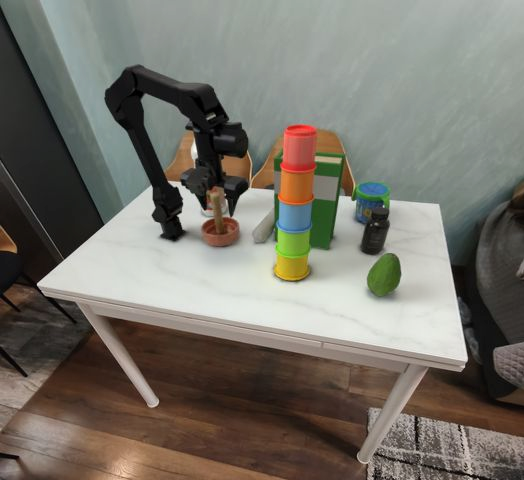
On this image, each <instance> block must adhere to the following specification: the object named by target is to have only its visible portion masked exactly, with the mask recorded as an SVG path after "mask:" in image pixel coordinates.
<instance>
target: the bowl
mask: <svg viewBox="0 0 524 480" xmlns="http://www.w3.org/2000/svg"><path fill="white" fill-rule="evenodd" d="M223 221H224V228H225V229H226V230H227V232H228V234H225V235H214V231H215V230H216V226H215V220H214V217H212V218H210V219H207V220H206V221H204V222H203V223H202V225H201V227H200V228H201V229H200V230H201V235H202V239H203V241H204V242H205V243H206V244H208V245H209V246H214V247H225V246H229V245H231V244H234V243H235V242H237V241H238V239H239V238H240V236H241V232H240V231H241V230H240V223H239V221H238V220H237V219H236V218H233V217H230V216H223Z"/></svg>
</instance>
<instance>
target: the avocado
mask: <svg viewBox="0 0 524 480" xmlns="http://www.w3.org/2000/svg"><path fill="white" fill-rule="evenodd" d="M401 278H402V267H401V260H400V258H399V257H398V255H397V254H396V253H393V252H386V253H384V254H382V255H381V256H380V257H379V258H378V259H377V260H376V262H375V263H374V264H372V266H371V267H370V269H369V270H368V273H367V276H366V284H367V288H368V289H369V291H370V293H371V294H372V295H375V296H378V297H384V296H387V295H389V294H391V293H392V292H394V291H395V289H397V288H398V286H399V284H400V282H401Z"/></svg>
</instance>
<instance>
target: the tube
mask: <svg viewBox="0 0 524 480" xmlns="http://www.w3.org/2000/svg"><path fill="white" fill-rule="evenodd" d="M274 230H275V228H274V207H272V209H270V210H269V212H268V213H267V214H266V215H265V216H264V217H263V219H262V220H261V221H260V222H259V224H257V226H256V227H255V228H254V229H253V230H252V238H253V240H254V241H255V242H256V243H264V241H266V239H267V238H268V237H269V236H270V235H271V233H272V232H273V231H274Z"/></svg>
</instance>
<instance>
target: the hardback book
mask: <svg viewBox="0 0 524 480" xmlns="http://www.w3.org/2000/svg"><path fill="white" fill-rule="evenodd" d="M346 156H347V155H346V153H338V152H324V151H316V152H315V164H316V169H315V170H314V179H313V191H312V193H313V194H314V200H313V201H312V208H311V222H312V227H311V229H310V236H309V245H310V246H311V248H317V249H323V250H329V249H330V242H331V239H333V238H334V233H335V227H336V221H337V214H338V208H339V200H340V195H341V189H342V188H341V187H342V183H343V181H342V180H343V174H344V169H345V162H346ZM282 162H283V148H281V150H280V151H279V152H278V153H277V154H276V155H275V156H274V157H273V205H274V206H273V208H274V242H278V227H277V221H278V220H279V204H280V200H279V199H278V195H279V193H280V192H281V171H282V169H281V167H280V164H281V163H282Z"/></svg>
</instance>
